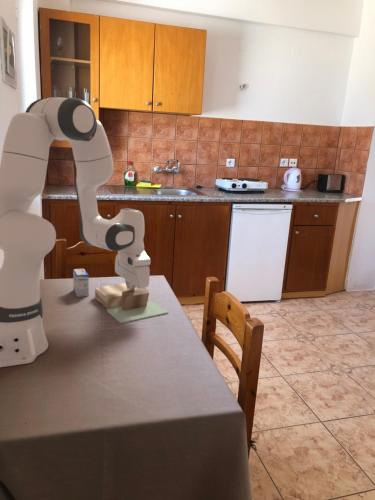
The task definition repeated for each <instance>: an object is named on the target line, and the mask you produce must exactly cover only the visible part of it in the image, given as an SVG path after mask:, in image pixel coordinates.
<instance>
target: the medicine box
mask: <svg viewBox="0 0 375 500" xmlns="http://www.w3.org/2000/svg"><path fill="white" fill-rule="evenodd" d="M72 272H73V273H72V274H73V275H72V280H73V281H72V285H73V288H72V289H73V292H74V293H75V295H76V297H77V298H79V297H88V296H89V293H90V291H89V290H90V289H89V288H90V287H89V274H88V272H87V271H86V269H85V268H75V269H72Z"/></svg>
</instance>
